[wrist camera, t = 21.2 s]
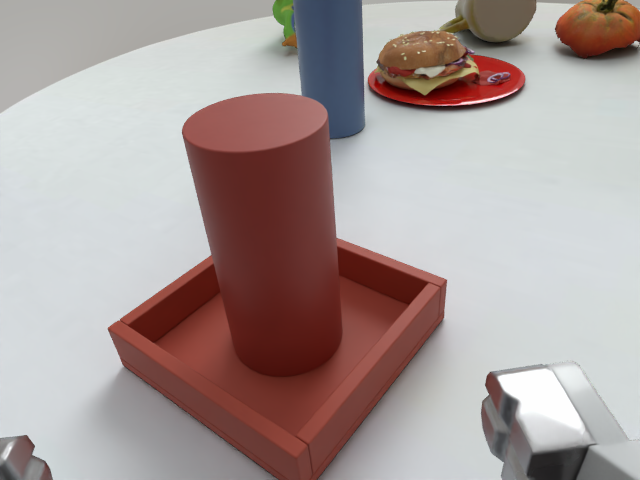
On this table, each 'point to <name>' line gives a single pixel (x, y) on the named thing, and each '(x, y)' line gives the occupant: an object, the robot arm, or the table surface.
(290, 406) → the red tray
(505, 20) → the mug
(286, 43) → the toy
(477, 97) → the hamburger
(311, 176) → the red canister
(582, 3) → the tomato
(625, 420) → the table surface
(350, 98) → the blue canister
